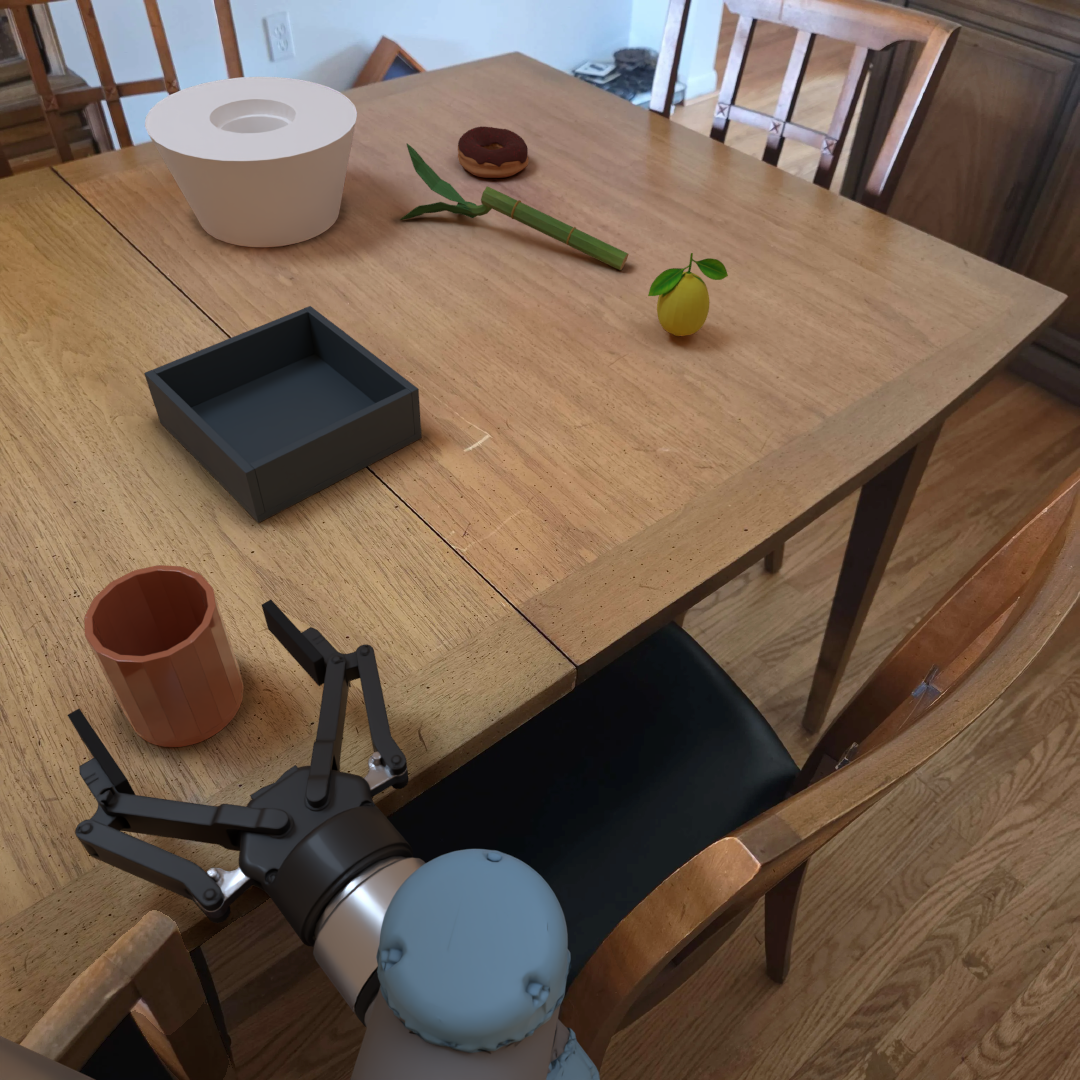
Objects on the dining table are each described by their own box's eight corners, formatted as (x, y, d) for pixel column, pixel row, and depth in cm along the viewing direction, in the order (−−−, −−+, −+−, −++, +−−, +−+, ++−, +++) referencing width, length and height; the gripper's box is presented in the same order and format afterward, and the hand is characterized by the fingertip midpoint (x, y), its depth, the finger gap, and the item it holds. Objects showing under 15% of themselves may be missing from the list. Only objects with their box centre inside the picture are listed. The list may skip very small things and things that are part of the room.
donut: (522, 186, 125) (522, 156, 122) (450, 178, 126) (449, 148, 123) (533, 154, 132) (534, 125, 129) (465, 146, 133) (465, 118, 130)
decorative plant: (615, 267, 107) (390, 159, 110) (600, 318, 114) (389, 215, 117) (636, 237, 110) (416, 133, 113) (620, 288, 117) (414, 188, 120)
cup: (161, 768, 63) (119, 684, 56) (108, 694, 67) (62, 606, 60) (264, 703, 67) (238, 616, 60) (209, 636, 71) (177, 547, 64)
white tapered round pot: (300, 154, 129) (287, 62, 120) (404, 221, 117) (398, 124, 108) (135, 204, 117) (107, 106, 108) (233, 284, 105) (210, 181, 96)
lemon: (716, 330, 103) (733, 247, 96) (698, 357, 99) (715, 273, 92) (660, 313, 105) (672, 231, 97) (640, 339, 101) (652, 256, 94)
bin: (258, 523, 79) (245, 473, 75) (160, 422, 88) (143, 372, 84) (421, 437, 88) (418, 388, 84) (317, 354, 97) (310, 305, 92)
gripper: (173, 1090, 48) (10, 806, 58) (529, 799, 60) (343, 607, 71) (133, 1047, 43) (-38, 743, 53) (534, 737, 55) (331, 539, 65)
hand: (179, 665), depth 62 cm, fingers open, 13 cm apart
